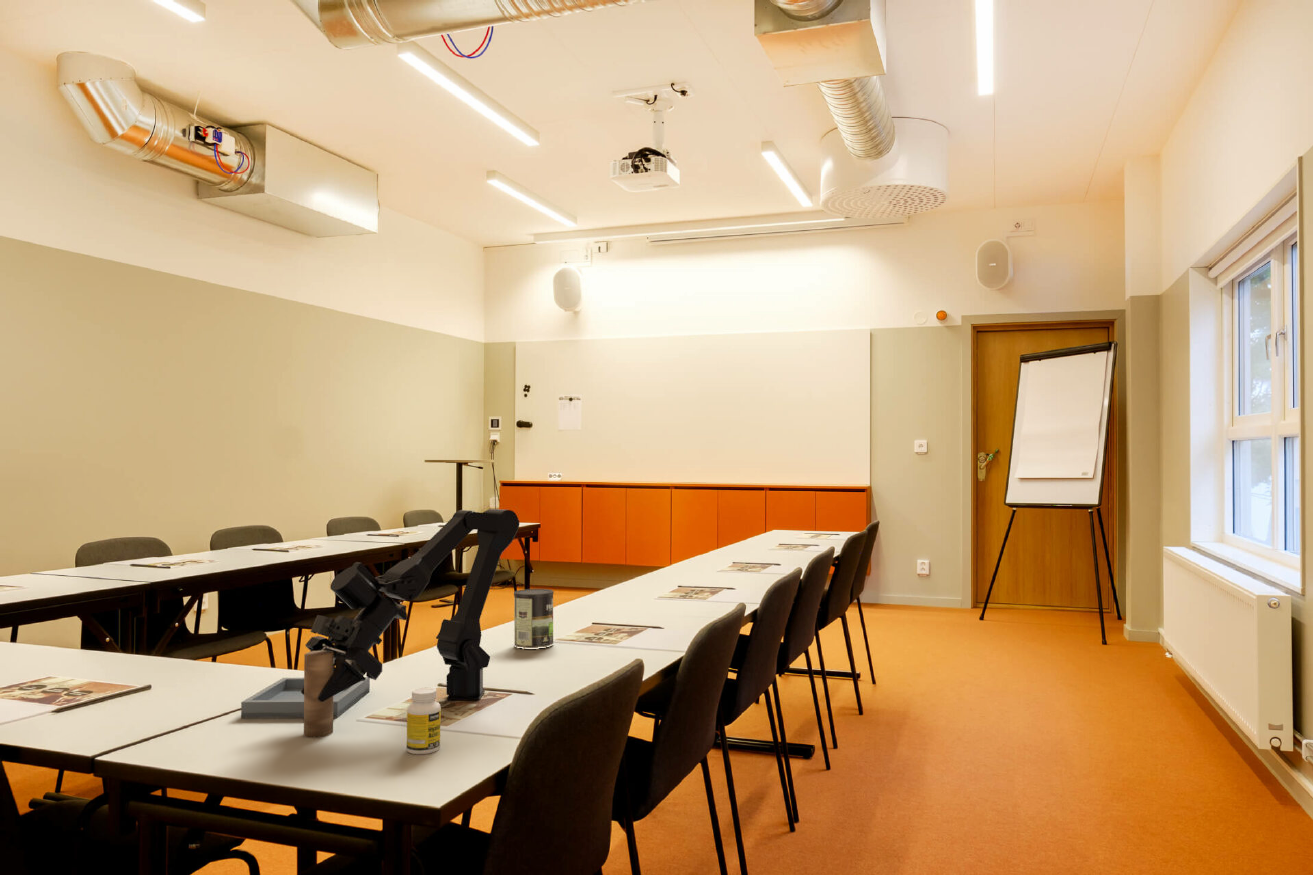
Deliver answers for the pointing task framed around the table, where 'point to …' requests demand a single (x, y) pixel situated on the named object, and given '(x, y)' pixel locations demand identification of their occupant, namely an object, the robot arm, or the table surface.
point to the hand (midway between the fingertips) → (311, 697)
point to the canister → (317, 693)
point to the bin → (296, 700)
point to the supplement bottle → (423, 722)
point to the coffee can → (533, 618)
